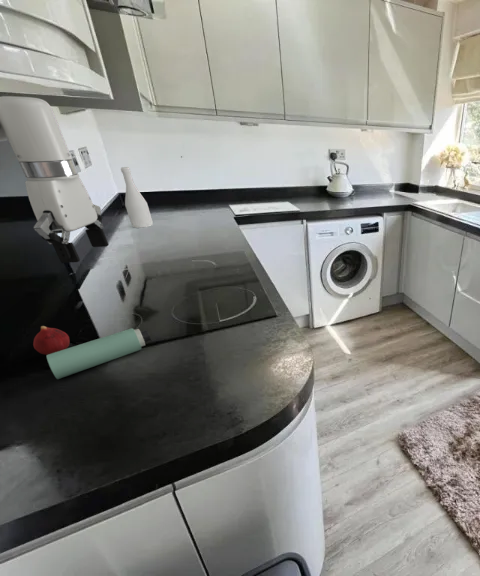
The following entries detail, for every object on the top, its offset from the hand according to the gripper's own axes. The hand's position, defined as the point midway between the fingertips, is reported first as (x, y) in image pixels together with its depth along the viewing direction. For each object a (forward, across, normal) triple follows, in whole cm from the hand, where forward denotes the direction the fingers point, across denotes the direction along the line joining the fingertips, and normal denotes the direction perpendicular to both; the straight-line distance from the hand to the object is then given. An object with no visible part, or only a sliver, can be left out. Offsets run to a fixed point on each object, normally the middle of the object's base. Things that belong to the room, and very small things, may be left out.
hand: (86, 253), depth 70 cm
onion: (+24, +3, -13) cm, 27 cm away
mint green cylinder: (+24, +6, 0) cm, 25 cm away
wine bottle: (+24, -115, -49) cm, 127 cm away
